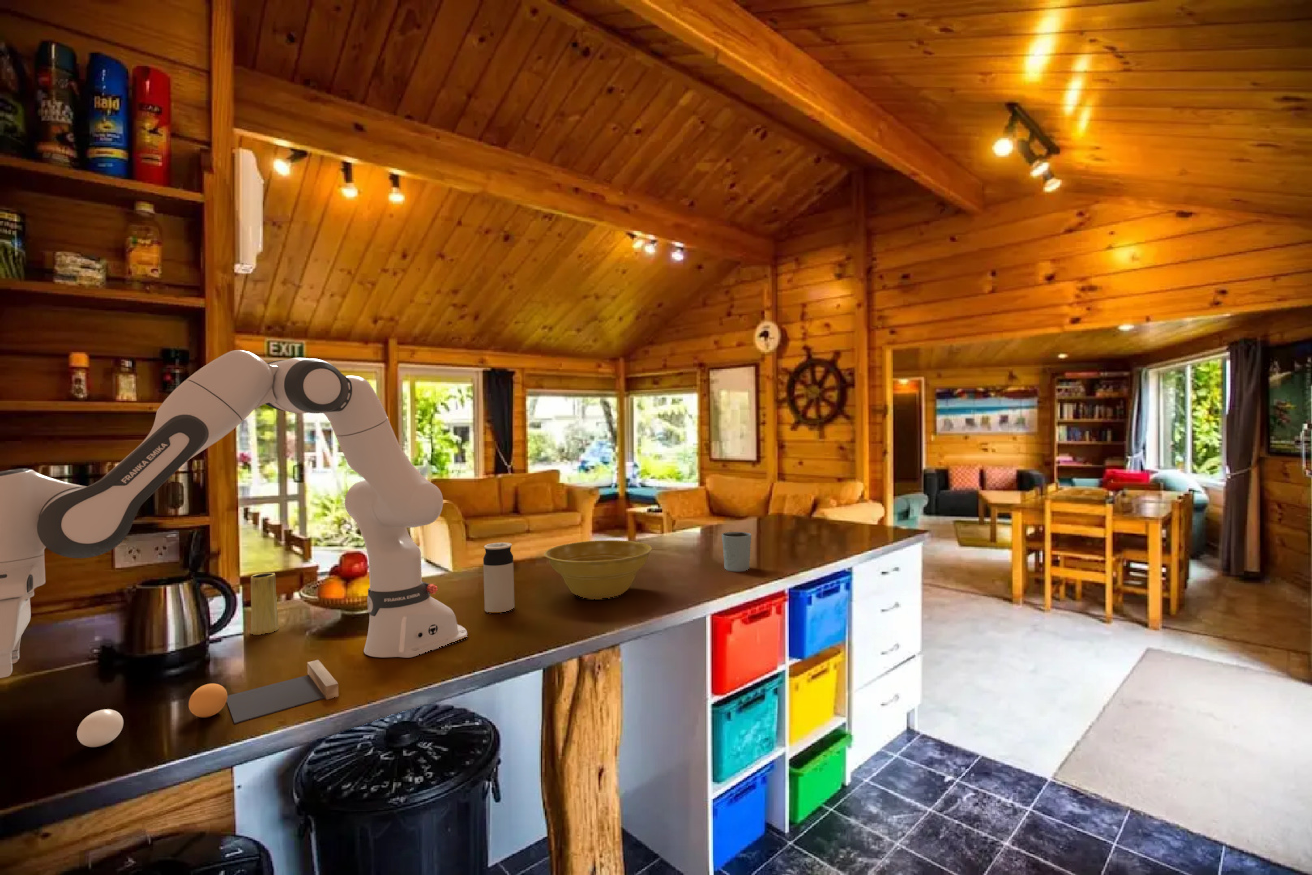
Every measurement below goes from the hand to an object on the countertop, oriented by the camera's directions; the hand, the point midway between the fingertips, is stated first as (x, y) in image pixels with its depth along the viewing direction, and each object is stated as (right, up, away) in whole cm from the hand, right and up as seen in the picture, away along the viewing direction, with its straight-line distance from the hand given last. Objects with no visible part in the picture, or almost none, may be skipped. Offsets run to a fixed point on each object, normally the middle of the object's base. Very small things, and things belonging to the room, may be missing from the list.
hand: (6, 669), depth 89 cm
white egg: (+8, -12, +7) cm, 16 cm away
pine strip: (+32, -14, +28) cm, 45 cm away
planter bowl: (+81, -12, +89) cm, 121 cm away
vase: (-2, -14, +61) cm, 63 cm away
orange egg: (+18, -12, +16) cm, 27 cm away
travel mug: (+55, -13, +75) cm, 93 cm away
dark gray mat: (+26, -14, +23) cm, 37 cm away
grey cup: (+126, -11, +116) cm, 172 cm away
